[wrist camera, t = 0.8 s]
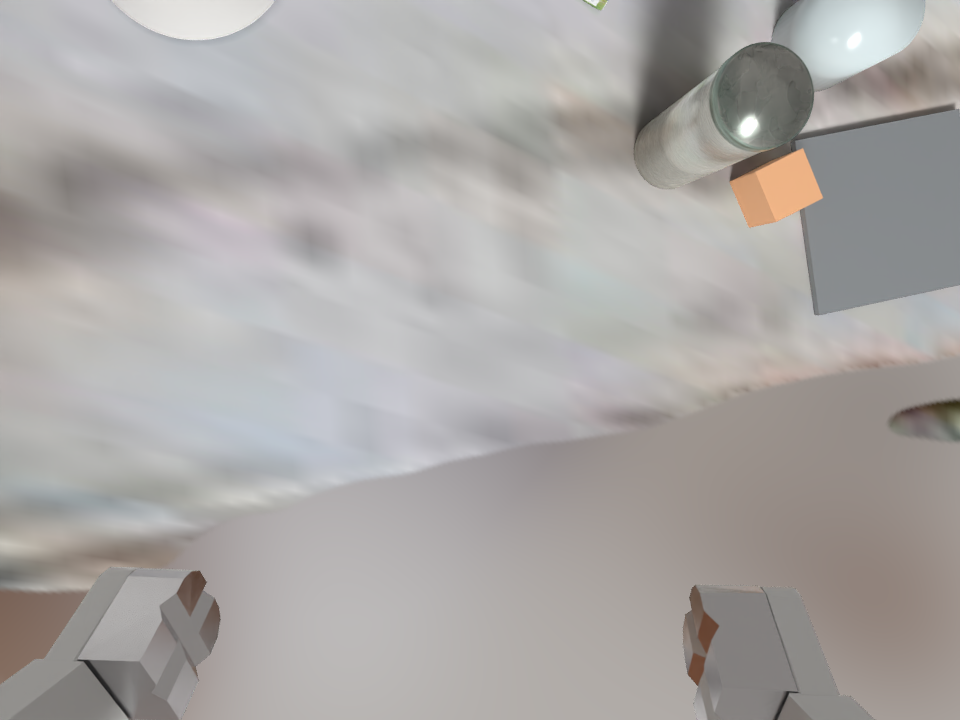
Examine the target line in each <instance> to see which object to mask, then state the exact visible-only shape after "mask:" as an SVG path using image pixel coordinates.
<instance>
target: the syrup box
mask: <svg viewBox="0 0 960 720" xmlns="http://www.w3.org/2000/svg"><path fill="white" fill-rule="evenodd" d="M583 1H585V2H587V3H588V4H590V5H591V6H593V7H595V8H597V9H599V10H603V8H604V7H605V5H606V4H607V2H608V1H609V0H583Z"/></svg>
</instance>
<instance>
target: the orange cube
mask: <svg viewBox="0 0 960 720" xmlns="http://www.w3.org/2000/svg"><path fill="white" fill-rule="evenodd" d="M730 184H731V186H732V189H733V191H734V193H735V196H736V198H737V200H738V203H739V205H740V207H741V210H742V212H743V215H744V217H745V219H746V222H747V224H748V226H749V228H750V227H754V226H759V225H764V224H769V223H773V222H777V221H779V220H781V219H783V218H785V217H787V216H789V215H791V214H793V213H795V212H797V211H799V210H801V209H803V208H805V207H807V206H809V205H811V204H813V203H815V202H816V201H818V200H820V199H822V198H823V196H822V194H821V191H820V189H819V186H818V184H817V181H816V179H815V177H814V174H813V172H812V169H811V167H810V164H809V162H808V159H807V157H806V154H805V152H804V149H803V148H802V149H799V150H797V151H794V152H792V153H789V154H787V155H784V156H781V157H779V158H776V159H774V160H772V161H770V162H768V163H766V164H764V165H762V166H760V167H758V168H756V169H754V170H752V171H750V172H748V173H746V174H744V175H742V176H740V177H738V178H736V179H734V180H732V181H730Z"/></svg>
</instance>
